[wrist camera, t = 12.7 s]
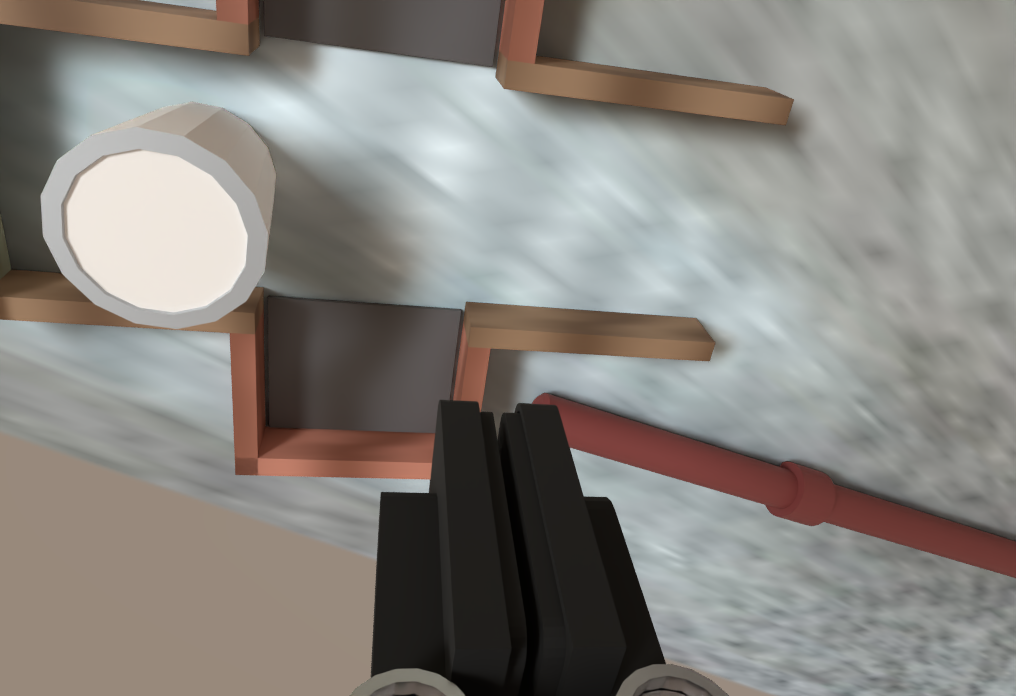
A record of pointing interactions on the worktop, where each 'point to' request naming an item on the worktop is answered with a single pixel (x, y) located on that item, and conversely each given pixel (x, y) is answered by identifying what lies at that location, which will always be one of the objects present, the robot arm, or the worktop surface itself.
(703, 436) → the worktop surface
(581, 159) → the worktop surface
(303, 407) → the box
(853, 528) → the red collared rod
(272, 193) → the white cylinder
